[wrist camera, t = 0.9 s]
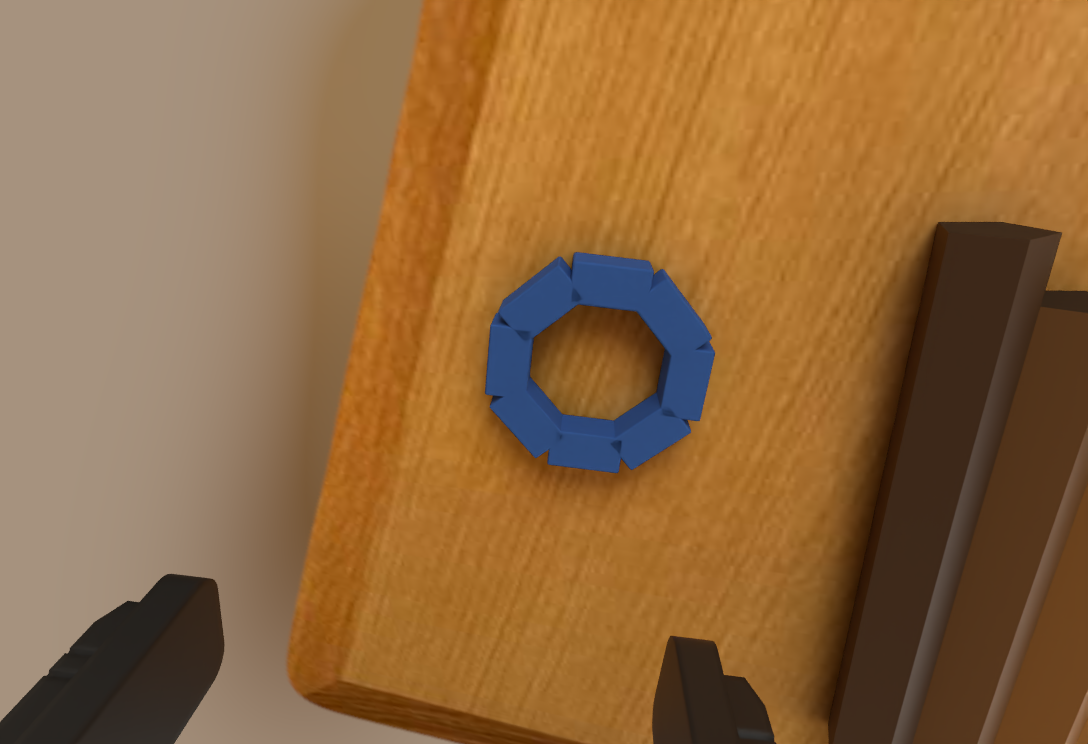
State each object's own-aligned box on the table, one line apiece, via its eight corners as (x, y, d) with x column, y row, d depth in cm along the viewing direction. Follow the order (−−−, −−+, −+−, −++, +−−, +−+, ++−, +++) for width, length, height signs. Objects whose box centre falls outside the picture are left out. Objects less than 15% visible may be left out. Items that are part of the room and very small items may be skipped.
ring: (485, 437, 28) (479, 456, 26) (501, 242, 24) (496, 251, 23) (680, 462, 27) (686, 482, 26) (723, 269, 24) (732, 279, 23)
